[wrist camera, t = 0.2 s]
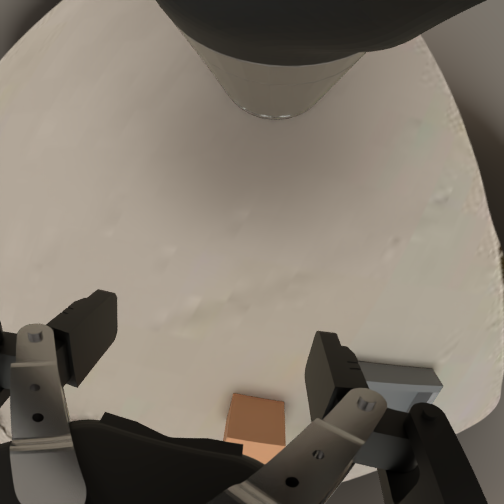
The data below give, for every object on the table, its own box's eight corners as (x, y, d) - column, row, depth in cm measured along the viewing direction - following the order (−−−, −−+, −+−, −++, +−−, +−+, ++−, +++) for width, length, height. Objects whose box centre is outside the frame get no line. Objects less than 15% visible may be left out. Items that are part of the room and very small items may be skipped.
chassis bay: (346, 359, 32) (352, 379, 29) (432, 368, 33) (443, 386, 29) (307, 439, 37) (309, 458, 33) (385, 442, 37) (390, 460, 33)
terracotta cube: (233, 392, 35) (226, 437, 28) (284, 401, 35) (285, 446, 28) (226, 419, 36) (219, 462, 29) (273, 427, 36) (273, 470, 29)
